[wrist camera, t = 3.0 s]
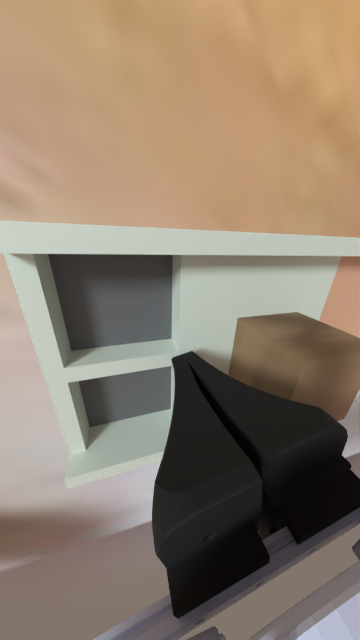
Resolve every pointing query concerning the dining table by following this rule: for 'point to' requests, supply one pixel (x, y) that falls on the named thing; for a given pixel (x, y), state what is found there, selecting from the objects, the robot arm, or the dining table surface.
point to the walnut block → (298, 360)
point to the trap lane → (156, 318)
